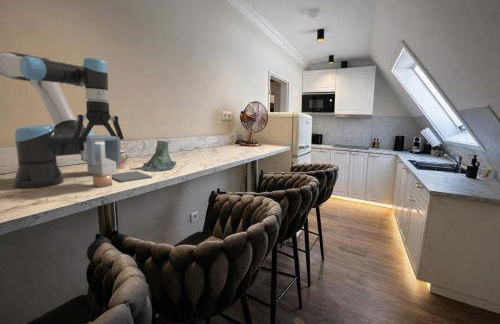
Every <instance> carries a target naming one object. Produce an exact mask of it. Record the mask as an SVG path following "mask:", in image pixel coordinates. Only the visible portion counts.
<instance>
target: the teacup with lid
mask: <svg viewBox="0 0 500 324" xmlns="http://www.w3.org/2000/svg"><path fill="white" fill-rule="evenodd" d="M128 160H129V155H128V153H126V151H125V150H124V149H121V163H118V162H116V169H123V168H125V167H126V162H127V161H128Z"/></svg>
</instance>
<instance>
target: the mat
mask: <svg viewBox="0 0 500 324" xmlns="http://www.w3.org/2000/svg"><path fill="white" fill-rule="evenodd" d="M110 174H111V175H112V180H115V181H118V182H119V183H126V182H133V181H139V180H144V179H152V177H153V176H152V175H149V174H146V173H143V172H140V171H137V170H134V171H127V172H126V171H124V172H118V173H110Z"/></svg>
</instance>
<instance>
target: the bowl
mask: <svg viewBox="0 0 500 324" xmlns="http://www.w3.org/2000/svg"><path fill="white" fill-rule="evenodd" d="M111 174H112V173H109V174H93V175H92V183H93V185H92V186H93V187H95V188H107V187H111V186H112V185H113V179H112V175H111Z"/></svg>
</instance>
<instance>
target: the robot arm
mask: <svg viewBox="0 0 500 324" xmlns="http://www.w3.org/2000/svg"><path fill="white" fill-rule="evenodd" d="M108 73H109V71H108V66H107V62H106V61H105V60H103V59H100V58H94V57H84V58H83V63H82V65H76V64H71V63H70V64H69V63H64V62H61V61H55V60H54V59H49V58H47V57H39V56H34V55H31V54H25V53H19V52H14V51H0V75H1V76H3V77H5V78H8V79H12V80H17V81H23V82H24V81H25V82H29V84H30V85H31V87H32V88H34V89H35V90H37V91H38V93H39V95H40V97H41V99H42V102H43V103H44V106H45V107H46V110H47V113H48V114H49V116H50V118H51V120H52V123H53V124H39V125H36V124H35V125H26V126H21V127H18V128H16V130H15V133H14V137H15V139H14V142H15V146H16V155H17V163H18V166H17V170H16V174H15V176H14V181H13V183H14V187H15V188H19V189H35V188H37V189H38V188H46V187H52V186H55V185H58V184H59V185H60V184H62V183H64V181H65V179H64V178H65V177H64V174H63V173H62V171H61V169H60V167H59V165H58V161H57V157H63V156H74V155H80V156H81V151H83V159H85V160H86V159H88V158H87V143H86V142H84V141H85V139H86V137H87V136H88V135H96V134H95V131H94V129H93V128H94V127H95V126H104V128H105V129H106V131H107V132H108V133H109V135H110V136H115V137H120V141H123V140H124V138H125V137H124V136H123V131H122V129H121V125H120V124H119V117H118V116H117V115H111V114H110V104H109V82H108V81H109V78H108V77H109V76H108V75H109V74H108ZM61 84H65V85H73V86H74V87H81V88H85V99H86V103H85V106H86V108H85V109H86V113H85V114H80V113H79V114H77V115H75V113H74V112H73V109H72V108H71V106H70V104H69V102H68V100H67V98H66V96H65V94H64V92H63V90H62V88H61V86H60V85H61ZM86 119H87V120H88V122H87V124H86V127H85V124H84V121H85V120H86ZM110 120H111V121H112V124H113V127H114V129H115V131H114V129H113V128H112V126H111V124H110V123H109V121H110ZM80 135H81V136H80ZM94 143H96V141H94Z"/></svg>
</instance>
